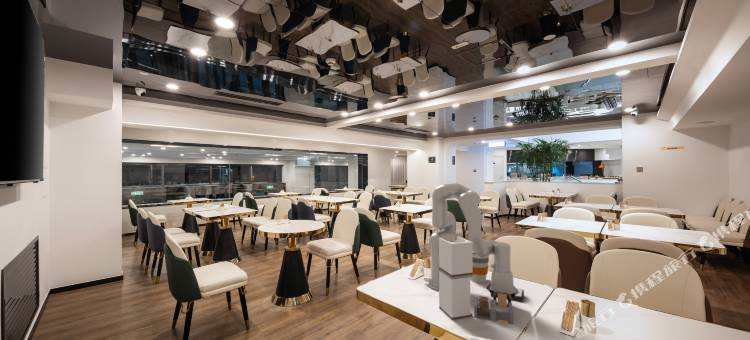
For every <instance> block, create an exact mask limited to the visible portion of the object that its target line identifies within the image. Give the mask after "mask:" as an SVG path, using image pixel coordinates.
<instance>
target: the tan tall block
mask: <svg viewBox="0 0 750 340" xmlns="http://www.w3.org/2000/svg"><path fill="white" fill-rule="evenodd" d="M497 306H499V307H503V308H505V307H506V308H507V307H508V299H507V293H500V292H498V298H497Z"/></svg>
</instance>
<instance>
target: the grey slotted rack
mask: <svg viewBox="0 0 750 340" xmlns="http://www.w3.org/2000/svg"><path fill="white" fill-rule="evenodd" d="M489 299H490V298H489ZM489 303H490V304H489V315H488V316H483V315H479V296H478V297H477V296H475V299H474V303H473V304H474V305H473V316H474V318H476V319H482V320H487V321H491V322H492V321H493V322H497V323H505V324H509V325H510V324H511V325H514V311H513V303H512V301H511V302H509V307H508V312H506V311H501V310H497V299H496V300H493V299H492V298H491V299H490V301H489Z"/></svg>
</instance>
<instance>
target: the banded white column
mask: <svg viewBox="0 0 750 340" xmlns="http://www.w3.org/2000/svg"><path fill="white" fill-rule="evenodd" d="M472 253H473V248H472V242H471V241H469V239H466V238H464V237H461V236H459V235H458V236H456V242H455V241H454V242H449V241H446V240H444V239H442V238H439V290H438V299H439V300H438V303H439V305H438V306H439V307H438V308H439V310H440V311H442V312H443V313H444V314H445V315H446V316H447V318H449V320H451V321H455V320H460V319H466V318H472V317H473V316H474V313H472V312H471V280H473V262H472Z"/></svg>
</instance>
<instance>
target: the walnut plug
mask: <svg viewBox="0 0 750 340" xmlns="http://www.w3.org/2000/svg"><path fill="white" fill-rule="evenodd" d="M489 299H490V298H489V296H488V297H487V296H482V295H479V296H478V308H479V315H483V316H488V315H489V310H490V304H489V303H490V301H489Z"/></svg>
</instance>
